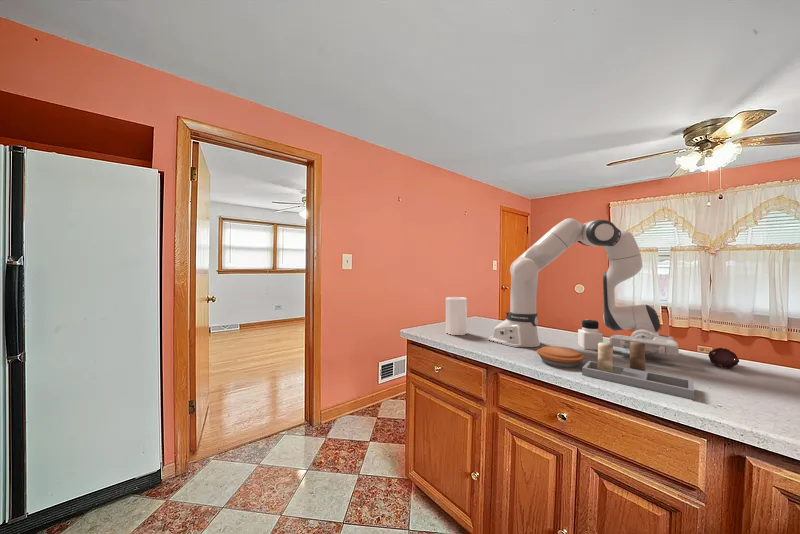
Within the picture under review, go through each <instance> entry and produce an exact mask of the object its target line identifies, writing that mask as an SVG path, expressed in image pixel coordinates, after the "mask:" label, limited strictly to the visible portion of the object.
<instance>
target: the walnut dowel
mask: <svg viewBox="0 0 800 534" xmlns="http://www.w3.org/2000/svg"><path fill="white" fill-rule="evenodd" d="M629 368H631V369H636V370H641V371H646V354H645V344H644V343H641V342H630V349H629Z"/></svg>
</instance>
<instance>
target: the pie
mask: <svg viewBox="0 0 800 534" xmlns="http://www.w3.org/2000/svg"><path fill="white" fill-rule="evenodd" d="M535 352H536V354H537V355H539V357H540V358H541V361H542V362H543V363H545V364H547V365H550V366H554V367H558V368H568V369H569V368H576V367H578V365H580V363H581V362H582V361H583V360H584V359H585V356H584V355H583V354H582V353H580V352H579V351H578V350H576V349H572V348H570V347H569V348H568V347H564V346H557V345H555V346H554V345H549V346H548V345H547V346H542V347H541V348H538V349H536V351H535Z"/></svg>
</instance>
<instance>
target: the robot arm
mask: <svg viewBox="0 0 800 534" xmlns="http://www.w3.org/2000/svg"><path fill="white" fill-rule="evenodd" d="M575 243H579V244H581V245H582V246H587V247H601V248H603V249H604V250H605V252H606V255H607V259H608V269H607V270H606V271H605V272H604V273H603V277H602V289H603V290H602V291H603V293H602V294H603V296H602V297H603V314H602V315H603V316H602V317H603V323H604V325H605V326H606V327H607V328H608V329H610V330H612V331H614V332H615V331H624V330H633V332H632V333H631V335H630V336H629V335H621V334H612V335H610V336H609V344H612V345H613V347H615V348H622V349H626V350H627V349H628V350H630V342H641V343H644V344H645V355H646V354H659V355H662V354H663V355H669V356H673V357H676V356H679V352H680V350H679V349H680V348H679V344H678V342H677V341H675V340H674V337H673V336H668V335H663V334H659V330H660V329H661V323H660V318H659V316H658V313H657V311H656V310H655V309H654V308H653V307H652V306H650V305H648V304H638V305H630V306H629V305H627V306H617V305H616V297H615V293H616V292H615V289H616V287H617V286H618V285H619V284H621V283H623V282H625V281H628V280H629V279H631V278H633V277H634V276H636V275H637V274H639V272H640V271H641V270H642V268H643V260H642V254H641V250H640V248H639V245H638V243H637V241H636V238H635V237H634V234H632V232H630V231H627V230H620V229H619V228H618V227H617V226H616V225H615V224H614V223H613V222H612V221H610V220H607V219H597V220H590V221H588V222H584V223H581V222H580V221H578V220H577V219H576V218H571V217H569V218H565V219H563V220H562V221H560V222H559V223H557V224H555V225H554V226H553V227H552V228H550V230H548V231H547V232H546V233H545V234H543V235H542V237H540V238H539V239H538V240H537V241H536V242H534V243H533V244H532V245H531V246H530V247H529V248H527V249H526V250H525V251H524V252H523V253H522V254H521V255H520V256H518V257H517V258H516V259H515V260H513V262H512V263H511V264H510V268H509V273H510V294H509V295H510V296H509V297H510V302H509V305H510V307H509V308H510V310H509V311H508V312H505V314H504V316H505V317H506V319H504V320H503V321H502V322H500V323H498V324H497V325H496V326H495V327H494V328H493V333H492V335H489V336H488V339H487V341H489V340H490V341H489V342H493V341H494V342H493V343H497V342H498V343H497V344H501V343H502V345H505V346H509V347H513V348H534V347H539V346H541V342H540V339H539V335H538V323H539V322H538V319H539V318H538V312H537V297H538V296H537V294H538V284H539V273H540V271H542V270H543V269H544V268H545V267H547V266H548V265H550V264H552V263H553V262H554V261H555V260H556V259H557V258H559V257H560V256H561V255H562V254H564V253H565V252H566V251H567V250H569V248H570V247H571V246H572V245H574V244H575Z"/></svg>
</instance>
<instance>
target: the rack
mask: <svg viewBox="0 0 800 534" xmlns="http://www.w3.org/2000/svg"><path fill="white" fill-rule="evenodd" d="M581 375H582V376H585V377H589V378H595V379H599V380H602V381H603V380H604V381H606V382H607V381H609V382H611V383H617V384H621V385H627V386H631V387H635V388H639V389H645V390H648V391H653V392H658V393H662V394H667V395H672V396H676V397H680V398H685V399H688V400H689V399H690V400H692V401H695V387H694V381H693V380H692V379H688V378H682V377H677V376H673V375H667V374H661V373H656V372H651V371H646V370H645V371H641V370H636V369H631V368H630V367H625V366H619V365H614V364H613V373H610V372H605V371H600V370H598V361H592V360H587V362H586V363H585V364H584V365H583V366H582V367H581Z"/></svg>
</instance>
